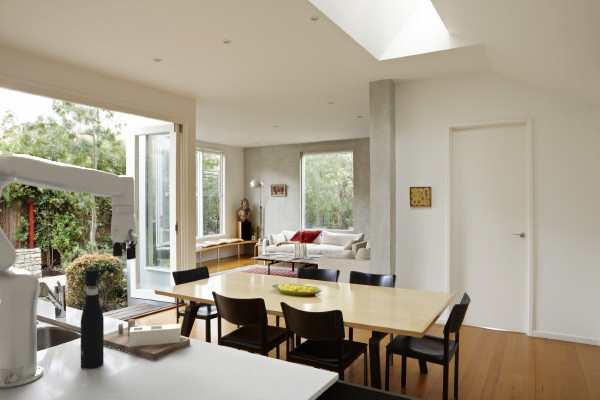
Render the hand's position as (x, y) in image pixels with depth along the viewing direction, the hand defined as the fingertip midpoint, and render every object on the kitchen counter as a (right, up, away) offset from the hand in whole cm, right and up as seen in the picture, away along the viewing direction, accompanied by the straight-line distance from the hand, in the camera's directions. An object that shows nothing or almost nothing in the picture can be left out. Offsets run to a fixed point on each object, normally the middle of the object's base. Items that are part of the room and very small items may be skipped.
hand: (124, 257), depth 149 cm
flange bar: (+13, -29, -4) cm, 32 cm away
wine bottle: (-2, -31, -19) cm, 37 cm away
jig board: (+7, -31, -1) cm, 32 cm away
